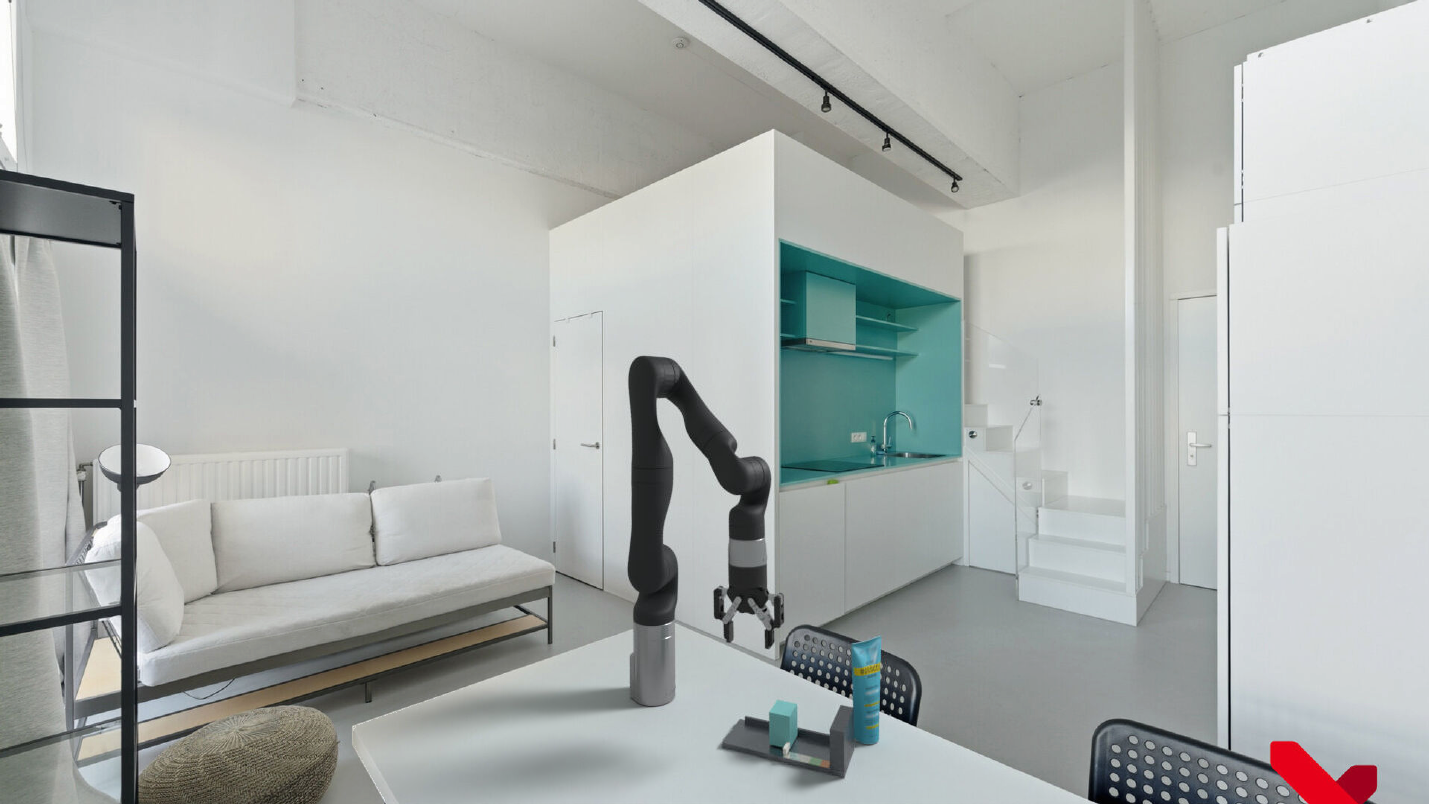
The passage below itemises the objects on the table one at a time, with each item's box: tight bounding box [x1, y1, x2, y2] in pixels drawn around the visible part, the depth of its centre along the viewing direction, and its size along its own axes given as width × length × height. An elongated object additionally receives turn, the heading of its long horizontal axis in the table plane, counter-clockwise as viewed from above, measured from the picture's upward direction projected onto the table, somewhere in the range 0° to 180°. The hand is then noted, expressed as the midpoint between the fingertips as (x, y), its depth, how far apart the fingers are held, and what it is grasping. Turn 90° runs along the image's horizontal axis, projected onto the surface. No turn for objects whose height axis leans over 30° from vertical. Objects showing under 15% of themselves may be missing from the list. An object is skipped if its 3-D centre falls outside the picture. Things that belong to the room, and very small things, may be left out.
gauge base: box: [721, 704, 855, 779], centre depth 112 cm, size 23×9×8 cm, turn 66°
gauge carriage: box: [768, 699, 798, 755], centre depth 112 cm, size 4×7×6 cm, turn 156°
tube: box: [850, 635, 882, 745], centre depth 116 cm, size 7×5×19 cm, turn 123°
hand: (749, 644), depth 116 cm, fingers open, 7 cm apart
